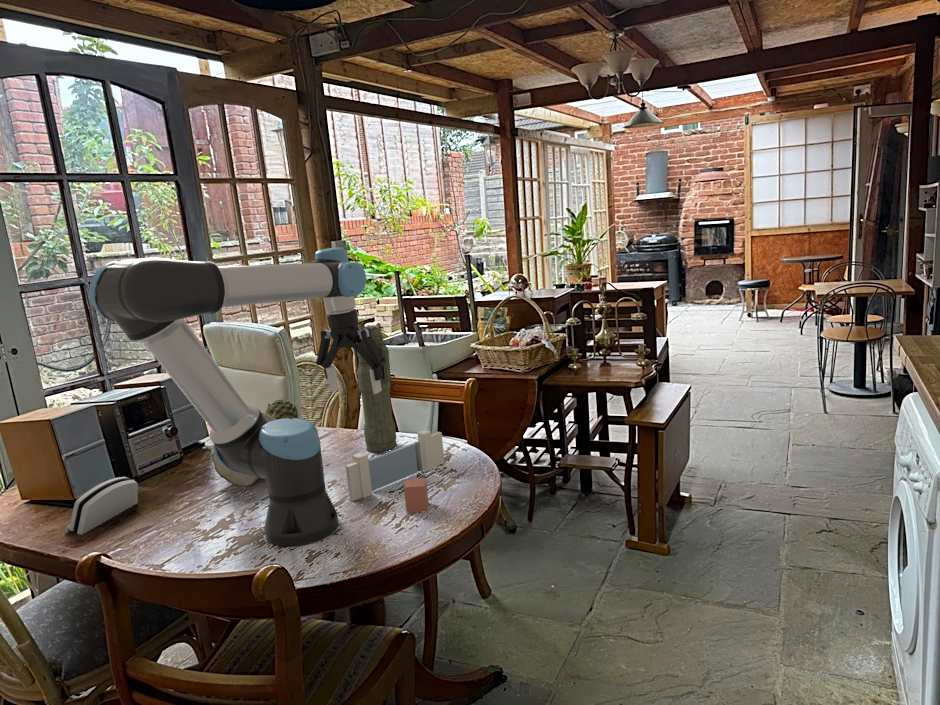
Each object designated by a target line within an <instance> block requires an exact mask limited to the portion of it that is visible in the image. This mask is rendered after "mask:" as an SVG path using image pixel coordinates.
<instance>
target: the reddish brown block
mask: <svg viewBox="0 0 940 705" xmlns="http://www.w3.org/2000/svg"><path fill="white" fill-rule="evenodd" d="M403 491H404V500H405V501H404V502H405V509H406V510H405V511H406V514H412V513H411V512H414V513H423V512H422V511H427V512H428V509H429V508H428V507H429V495H428V485H427V478H426V477H423V478H412V479H409V478H408V479H405V482H404V486H403ZM427 508H428V509H427Z"/></svg>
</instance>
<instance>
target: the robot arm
mask: <svg viewBox="0 0 940 705" xmlns="http://www.w3.org/2000/svg"><path fill="white" fill-rule="evenodd" d="M314 255H315V258H314V260H312V261H308V262H307V261H306V262H303V263H286V264H285V263H284V264H281V263H280V264H278V263H277V264H258V265H257V264H255V265H253V264H252V265H251V264H250V265H229V266H227V265H226V266H223V265H222V266H219V265H217V264H216V263H215V262H213V261H208V260H207V261H194V260H193V261H192V260H180V259H172V258H164V257H146V258H144V257H143V258H119V259H116V260H113V261H109V262H107V263H105V264H104V265H102V266H101V267H99V268H98V269H97V270H96V271H95V273H94V274H93V276H92V277H91V280H90V283H89V289H88V296H89V300H90V304H91V305H92V307H93V309H94V310H95V311H96V312H97V313H98V314H99V315H100V316H102V318H105V319H106V320H108V321H111V322H115V323H116V324H117V326H118V327H119V328H120V329H121V330H122V332H123V333H124V334H125V335H126V337H127V338H128V339H129V340H130V342H133V343H140V344H144V346H145V347H146V348H147V349H148V351H149V352H150V353H151V354H152V356H153V357H154V358H155V359H156V361H157V362H158V363H159V364H160V366H161V367H162V368H163V370H164V371H165V372H166V373H167V375H168V376H169V377H170V378H171V379H172V381H173V382H174V383H175V384H176V386H177V387H178V388H179V390H181V392H182V394H183V395H184V396H185V397H186V399H187V400H188V401H189V402H190V404H192V406H193V408H194V409H195V410H196V411H197V412H198V413H199V415H200V416H201V417H202V419H203V420H204V421H205V422H206V424H207V425H208V426H209V428H210V432H209V439H210V441H211V442H212V444H213V445H212V450H213V452H214V454H215V456H216V458H217V459H218V461H219V462H220V463H221V464H222V465H223V466H225V467H227V468H228V469H230V470H232V471H235V472H238V473H243V474H247V475H251V476H255V477H259V479H263V480H265V481H266V486H267V493H268V498H269V500H268V508H267V513H266V518H265V522H264V523H265V524H264V530H265V531H264V532H265V538H266V540H267V541H268V542H269V543H271V544H273V545H276V546H280V547H281V546H282V547H295V546H303V545H307V544H312V543H314V542H317V541H319V540H322V539H324V538H327V537H328V536H330V535H331V534H332V533H334V532H335V531H336V530H337V528H338V527H339V516H338V512H337V509H336V508H335V505H334V503H333V502H332V500H331V498H330V496H329V494H328V492H327V489H326V481H325V473H324V465H323V458H322V449H321V447H322V446H321V443H322V442H321V439H320V436H319V432H318V429H317V427H316V426H315V424H314V423H312V422H311V421H309V420H306V419H303V418H299V417H298V418H293V419H289V418H284V419H277V420H273V421H271V422H268V421H267V420H266V418H265V417H264V416H263V414H262V413H261V412H262V411H261V410H260V409H259V408H258V406H256V405H254V404H247V403H246V402H245V401H244V399H243V398H242V397H241V395H240V394H239V393H238V391H237V390H236V389H235V387H234V386H233V384H232V383H231V382H230V380H229V379H228V378H227V376H226V374H225V373H224V372H223V371H222V370H221V368H220V367H219V365H218V364H217V362H216V361H215V360H214V358H213V357H212V356H211V354H210V353H209V351H208V350H207V349H206V347H205V346H204V344H203V343H202V342H201V340H200V339H199V338H198V336H197V335H196V333H195V332H194V331H193V330H192V328H191V327H190V325H189V324H188V323H187V321H186V320H185V319H186V318H193V317H198V316H205V315H211V314H212V315H213V314H218V313H219V312H220V311H222V310H223V308H228V307H235V306H236V307H238V306H246V305H247V306H250V305H258V304H259V305H260V304H268V303H269V304H270V303H271V304H272V303H280V302H291V301H292V302H293V301H301V300H314V299H323V304H324V308H325V309H324V311H325V312H326V313H327V314H326V320H327V321H326V322H327V324H328V328H326V329H323V330H320V344H319V349H318V351H317V352H318V353H317V357H316V362H315V364H316V365H317V366H321V367H322V368H323V370H324V371H323V372H324V375H325V376H324V377H325V379H326V380H327V382H328V386H329V387H328V388H329V392H330V393H334V392H337V391H338V390H339V389H340V387H339V383H338V382H339V381H338V375H337V372H336V366H335V364H334V365H333V362H334V361H335V359H336V356H337V355H338V353H339V350H340V349H342V348H348V349H349V348H350V349H351V348H352V349H353V351H354V350H356V351H357V352H358V353H359V354H360V355H361V356H362V357H363V358H364V360H365V361H366V362H367V363H368V364H369V365H370V366H371V367H372V368H371V369H369V372H370V377H371V383H372V389H373V394H377V393H379V392H380V391H382V389H381V383H380V379H382V375H381V369H380V366H382V365H384V364H385V363H386V360H385V358H384V356H383V354H382V353H381V351H380V349H379V348H378V346H377V344H376V343H375V341H374V339H373V338H372V335H371V332H370V329H369V328H366V329H364V330H359V329H360V327H359V316H358V311H357V309H355V308H356V307H357V304H356V300H355V297H356V296H359V295H361V294H362V292H364V290H365V288H366V285H367V274H366V271H365V269H364V268H363V266H362V265H361V264H360V263H357V262H354V261H349V258H348V255H347V251H346V249H345V248H344V247H341V246H340V247H330V248H329V247H328V248H324V249H323V248H322V249H320V250H317V251H315V254H314ZM331 338H332V339H333V341H332V342H331V340H332V339H331ZM361 338H362V340H363V341H362V340H361ZM330 343H331V344H330ZM357 343H358V344H357ZM364 344H365V345H366V346H365V345H364Z"/></svg>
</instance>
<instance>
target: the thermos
mask: <svg viewBox="0 0 940 705" xmlns="http://www.w3.org/2000/svg"><path fill="white" fill-rule="evenodd" d="M366 328H369V329H370V332H371V335H372V338H373V339H374V341H375V343H376V344H377V346H378V348H379V349H380V351H381V353H382V354H383V356H384V358H385V360H386V363H385V364H384V365H382V366H380V369H381V375H382V379H380V383H381V389H382V391H380V392H379V393H377V394H373V389H372V383H371V377H370V372H369V369H371V368H372V367H371V366H370V365H369V364H368V363H367V362H366V361H365V360H364V358H363V357H362V356H361V355H360V354H359V353H358V352H357V351H356V350H354V349H353V354H354V361H355V362H354V364H355V369H356V375H357V380H358V382H357V383H358V388H359V389H358V390H359V392H360V394H361V399H362V407H363V408H362V410H363V418H364V424H363V434H364V442H365V444H366V451H367V452H368V453H371V454H381V453H380V452H385V453H387V452H386V451H389V450H392V449H394V448H395V447H396V446H397V447H398V445H397V444H398V443H397V432H396V423H395V421H394V419H393V410H392V403H391V402H392V401H391V394H390V391H391V387H392V386H391V379H392V374H391V366H390V365H391V364H390V352H389V351H390V350H389V348H388V347H387V345H386V344H384V343H385V341H384V335H383V333H382V331H381V328H380V327H378V326H376V325H371V326H363V327H359V330H364V329H366ZM361 340H362V338H361ZM362 341H363V340H362ZM357 344H358V343H357ZM364 345H365V344H364ZM365 346H366V345H365ZM397 447H396V448H397ZM394 450H395V449H394ZM392 451H393V450H392ZM389 452H390V451H389Z"/></svg>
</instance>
